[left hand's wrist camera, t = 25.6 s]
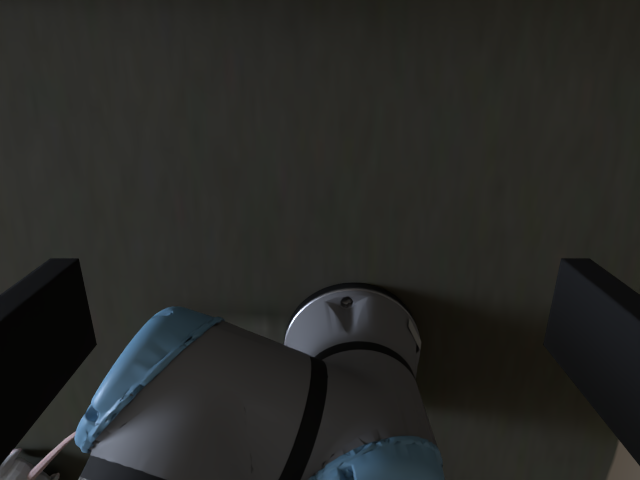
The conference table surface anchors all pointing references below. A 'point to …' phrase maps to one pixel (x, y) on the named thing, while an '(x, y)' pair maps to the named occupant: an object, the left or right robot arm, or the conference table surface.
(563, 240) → the conference table surface
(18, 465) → the toy
